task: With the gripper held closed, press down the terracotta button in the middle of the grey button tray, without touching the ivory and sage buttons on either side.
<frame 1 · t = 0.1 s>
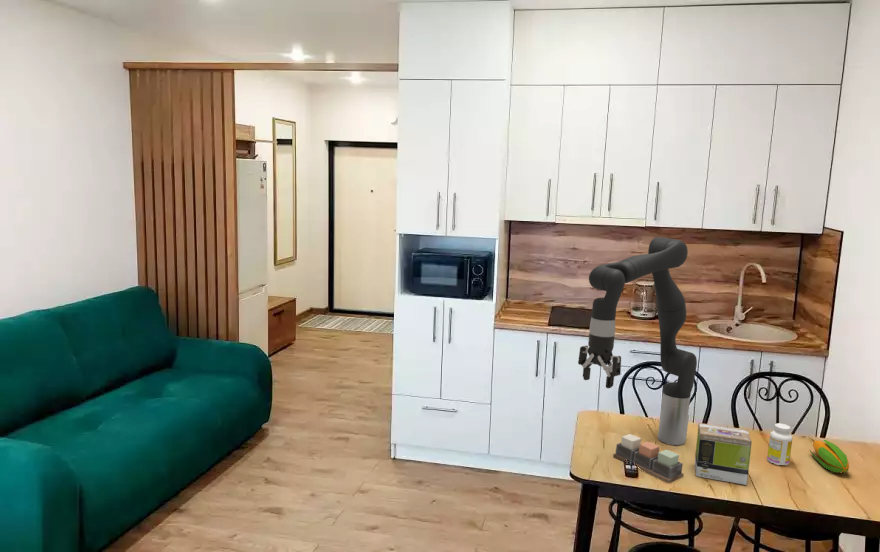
hand: (597, 383, 199), 29 cm above the table, tool pointing down, fingers open, 8 cm apart
button sage: (668, 459, 203), point 5 cm above the table, slide at 0.0 cm
tea box: (719, 475, 207), on the table
grey button tray: (647, 466, 210), on the table
button ivory: (630, 443, 214), point 5 cm above the table, slide at 0.0 cm
supplement bottle: (777, 462, 218), on the table
corn: (826, 464, 218), on the table
button terracotta: (648, 451, 209), point 5 cm above the table, slide at 0.0 cm
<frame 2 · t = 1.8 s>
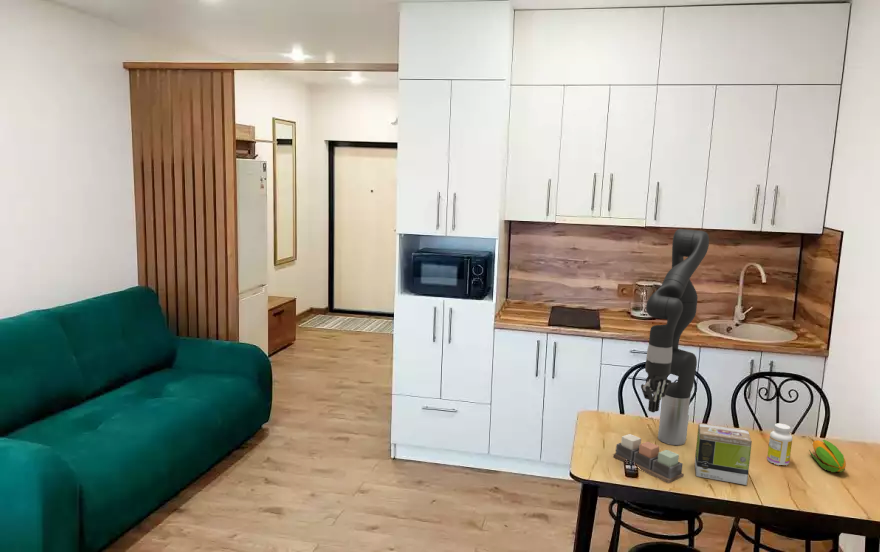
hand: (653, 410, 206), 19 cm above the table, tool pointing down, fingers closed
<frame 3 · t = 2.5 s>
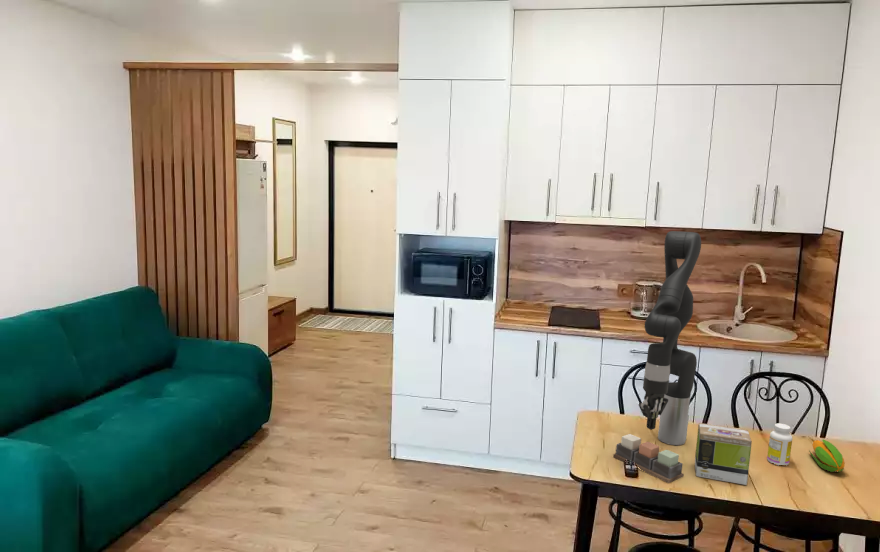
hand: (650, 428, 207), 13 cm above the table, tool pointing down, fingers closed
nothing on the table moved.
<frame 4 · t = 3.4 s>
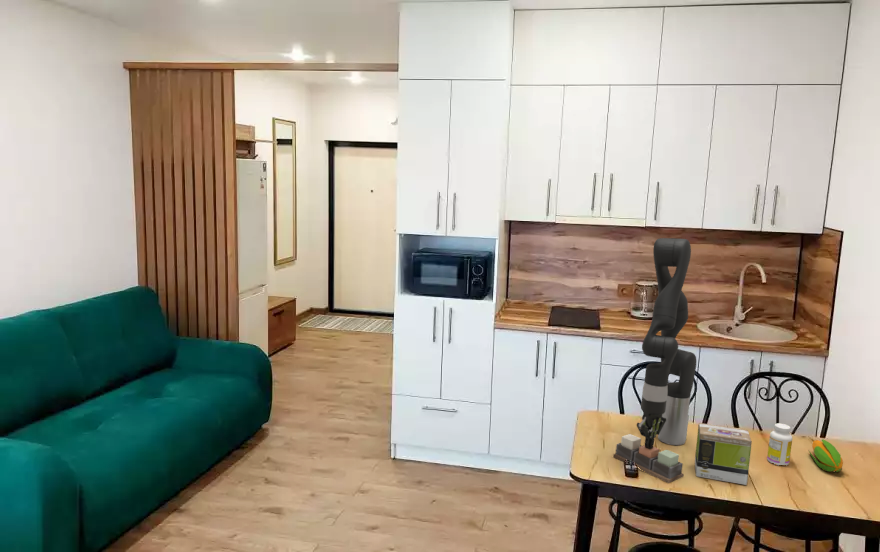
hand: (648, 447, 209), 6 cm above the table, tool pointing down, fingers closed
button terracotta: (648, 453, 209), point 4 cm above the table, slide at 0.9 cm, touching gripper
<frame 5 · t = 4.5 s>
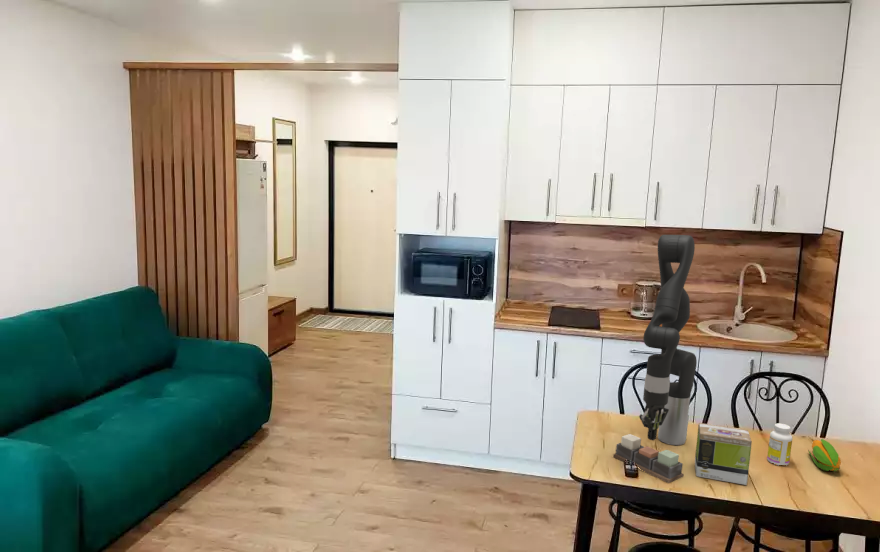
hand: (651, 439, 208), 9 cm above the table, tool pointing down, fingers closed
button terracotta: (648, 456, 209), point 4 cm above the table, slide at 1.6 cm
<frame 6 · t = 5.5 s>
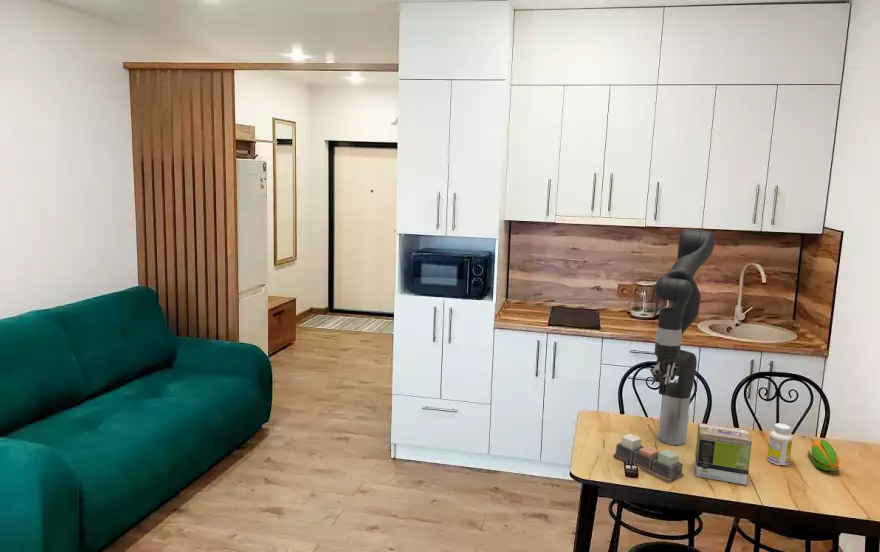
hand: (663, 394, 205), 25 cm above the table, tool pointing down, fingers closed
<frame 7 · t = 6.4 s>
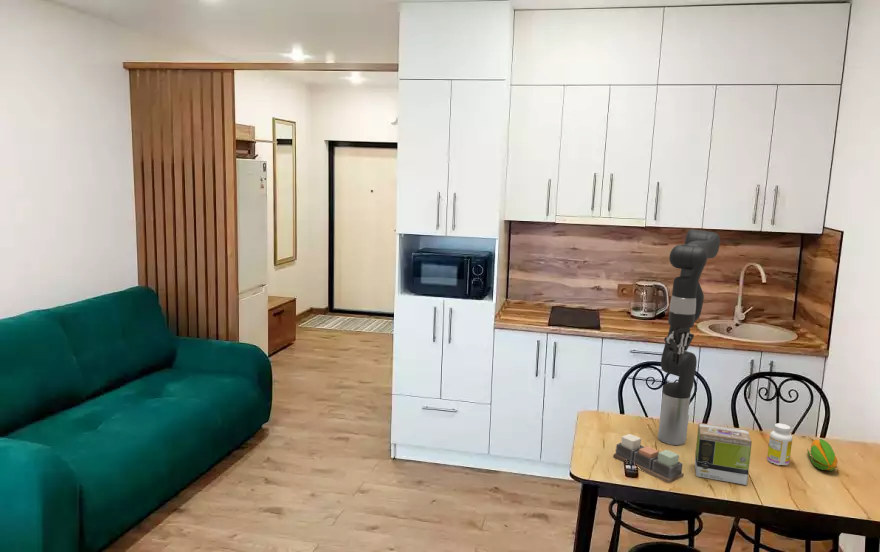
hand: (676, 364, 203), 35 cm above the table, tool pointing down, fingers closed
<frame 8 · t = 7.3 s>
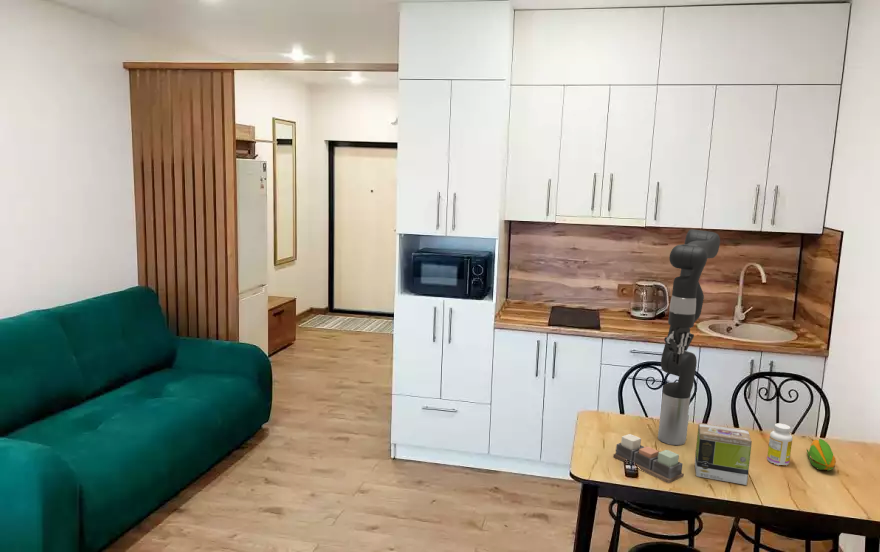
hand: (676, 364, 203), 35 cm above the table, tool pointing down, fingers closed
at the end: button terracotta slide at 1.6 cm; button ivory slide at 0.0 cm; button sage slide at 0.0 cm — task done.
